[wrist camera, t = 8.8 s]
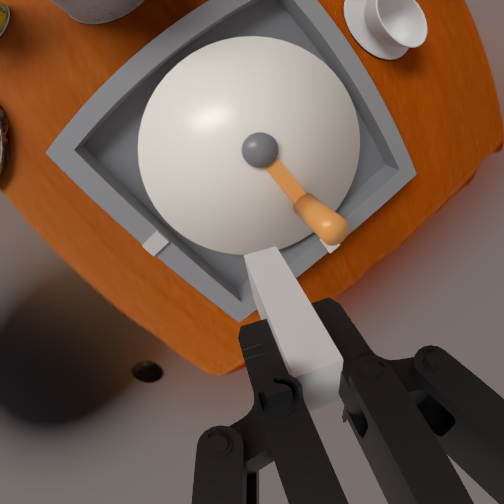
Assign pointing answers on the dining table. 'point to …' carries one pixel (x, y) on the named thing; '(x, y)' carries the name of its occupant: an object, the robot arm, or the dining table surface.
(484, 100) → the dining table surface
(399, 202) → the dining table surface
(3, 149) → the multicoloured round food plate
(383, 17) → the teacup
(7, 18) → the supplement bottle
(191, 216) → the dial
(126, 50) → the dining table surface
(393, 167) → the grey square tray
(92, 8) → the gray speckled cylinder
